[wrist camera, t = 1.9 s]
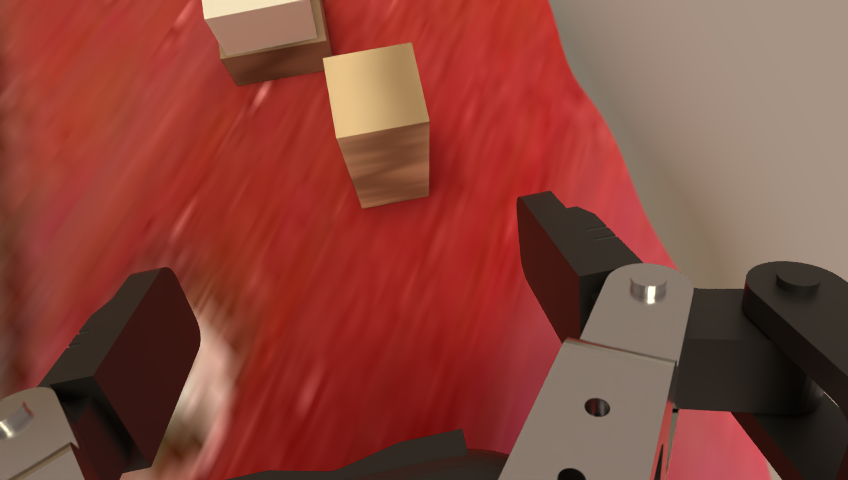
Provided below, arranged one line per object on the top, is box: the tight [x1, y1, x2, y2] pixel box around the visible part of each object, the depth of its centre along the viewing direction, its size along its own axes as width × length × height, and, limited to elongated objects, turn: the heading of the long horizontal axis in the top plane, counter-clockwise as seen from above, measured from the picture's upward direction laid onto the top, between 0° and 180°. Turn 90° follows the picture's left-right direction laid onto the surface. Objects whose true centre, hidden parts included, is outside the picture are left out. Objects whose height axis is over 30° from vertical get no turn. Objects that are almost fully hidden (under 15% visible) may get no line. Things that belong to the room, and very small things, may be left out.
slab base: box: [219, 0, 332, 86], centre depth 36 cm, size 7×7×4 cm
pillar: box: [323, 43, 430, 209], centre depth 30 cm, size 4×4×10 cm
